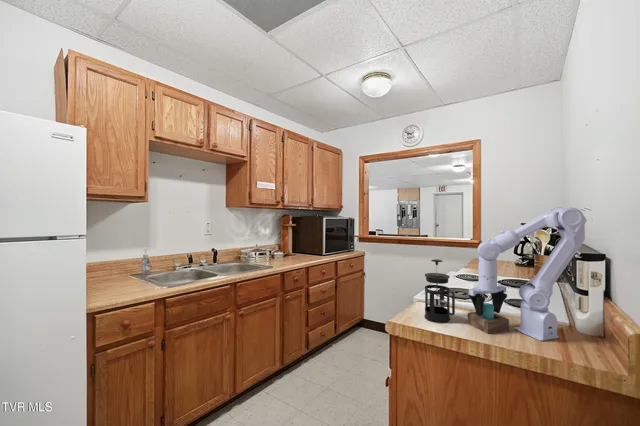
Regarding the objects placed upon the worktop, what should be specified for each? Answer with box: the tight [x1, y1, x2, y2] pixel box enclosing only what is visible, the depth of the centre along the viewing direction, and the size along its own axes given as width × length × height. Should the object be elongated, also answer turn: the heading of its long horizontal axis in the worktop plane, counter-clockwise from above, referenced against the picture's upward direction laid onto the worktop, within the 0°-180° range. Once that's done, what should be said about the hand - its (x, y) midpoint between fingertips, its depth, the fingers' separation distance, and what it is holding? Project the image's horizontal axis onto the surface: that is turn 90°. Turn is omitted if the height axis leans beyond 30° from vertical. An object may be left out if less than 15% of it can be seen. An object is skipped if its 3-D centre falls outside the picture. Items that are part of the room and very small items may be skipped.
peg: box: [481, 302, 495, 320], centre depth 101 cm, size 4×4×8 cm
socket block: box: [467, 311, 510, 335], centre depth 101 cm, size 9×9×4 cm
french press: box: [423, 258, 456, 324], centre depth 109 cm, size 12×9×23 cm
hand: (487, 313), depth 101 cm, fingers open, 7 cm apart
